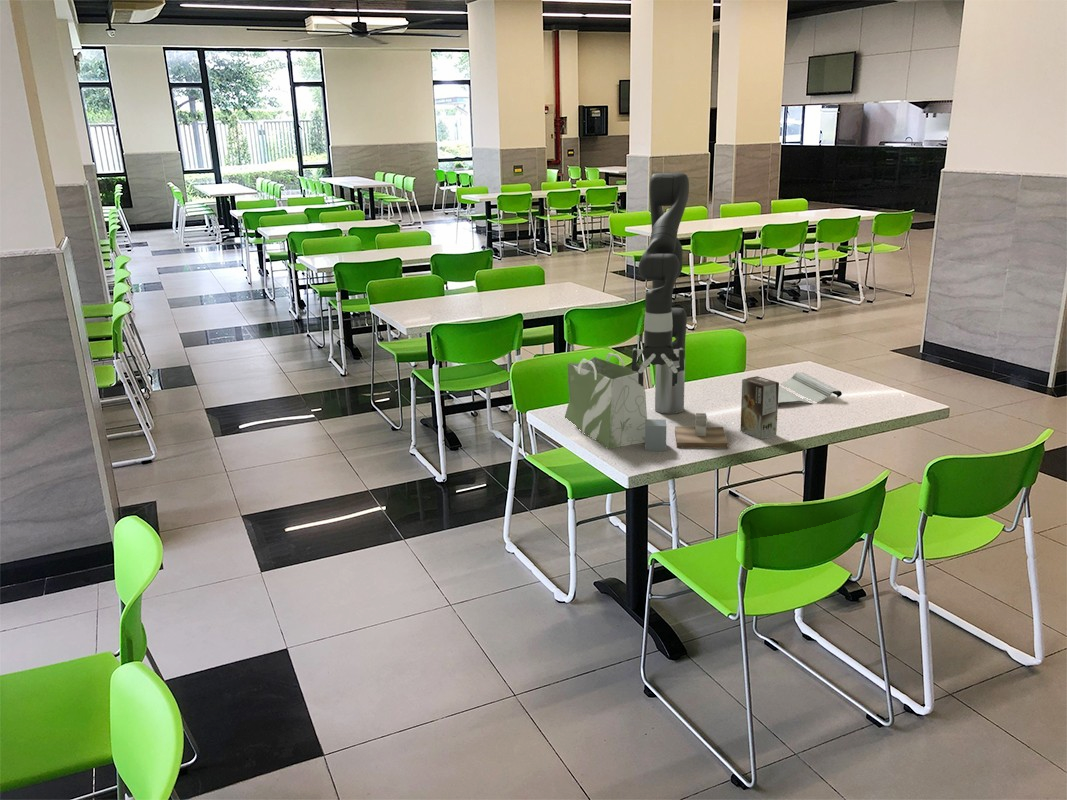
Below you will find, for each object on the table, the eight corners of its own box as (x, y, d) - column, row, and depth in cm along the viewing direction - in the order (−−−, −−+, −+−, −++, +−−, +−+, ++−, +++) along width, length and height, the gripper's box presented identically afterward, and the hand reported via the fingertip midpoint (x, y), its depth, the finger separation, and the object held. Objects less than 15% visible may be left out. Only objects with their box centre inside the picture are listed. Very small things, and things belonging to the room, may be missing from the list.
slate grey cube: (645, 443, 235) (645, 419, 233) (665, 443, 234) (665, 419, 232) (645, 450, 229) (645, 425, 227) (666, 450, 228) (666, 426, 226)
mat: (742, 390, 285) (743, 377, 283) (804, 384, 289) (805, 371, 288) (775, 409, 263) (776, 395, 261) (841, 402, 268) (842, 388, 266)
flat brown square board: (674, 431, 244) (675, 407, 242) (722, 431, 242) (723, 407, 240) (676, 447, 231) (677, 422, 229) (727, 448, 229) (728, 422, 227)
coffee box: (777, 435, 238) (780, 382, 233) (761, 439, 235) (764, 385, 230) (754, 427, 245) (757, 375, 241) (738, 431, 242) (741, 378, 238)
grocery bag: (560, 418, 260) (558, 347, 253) (599, 412, 264) (599, 342, 258) (606, 449, 231) (606, 370, 224) (649, 442, 236) (650, 364, 229)
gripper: (684, 324, 224) (682, 381, 229) (631, 325, 226) (631, 381, 231) (685, 330, 217) (684, 389, 222) (631, 331, 219) (631, 389, 223)
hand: (657, 385), depth 226 cm, fingers open, 8 cm apart
